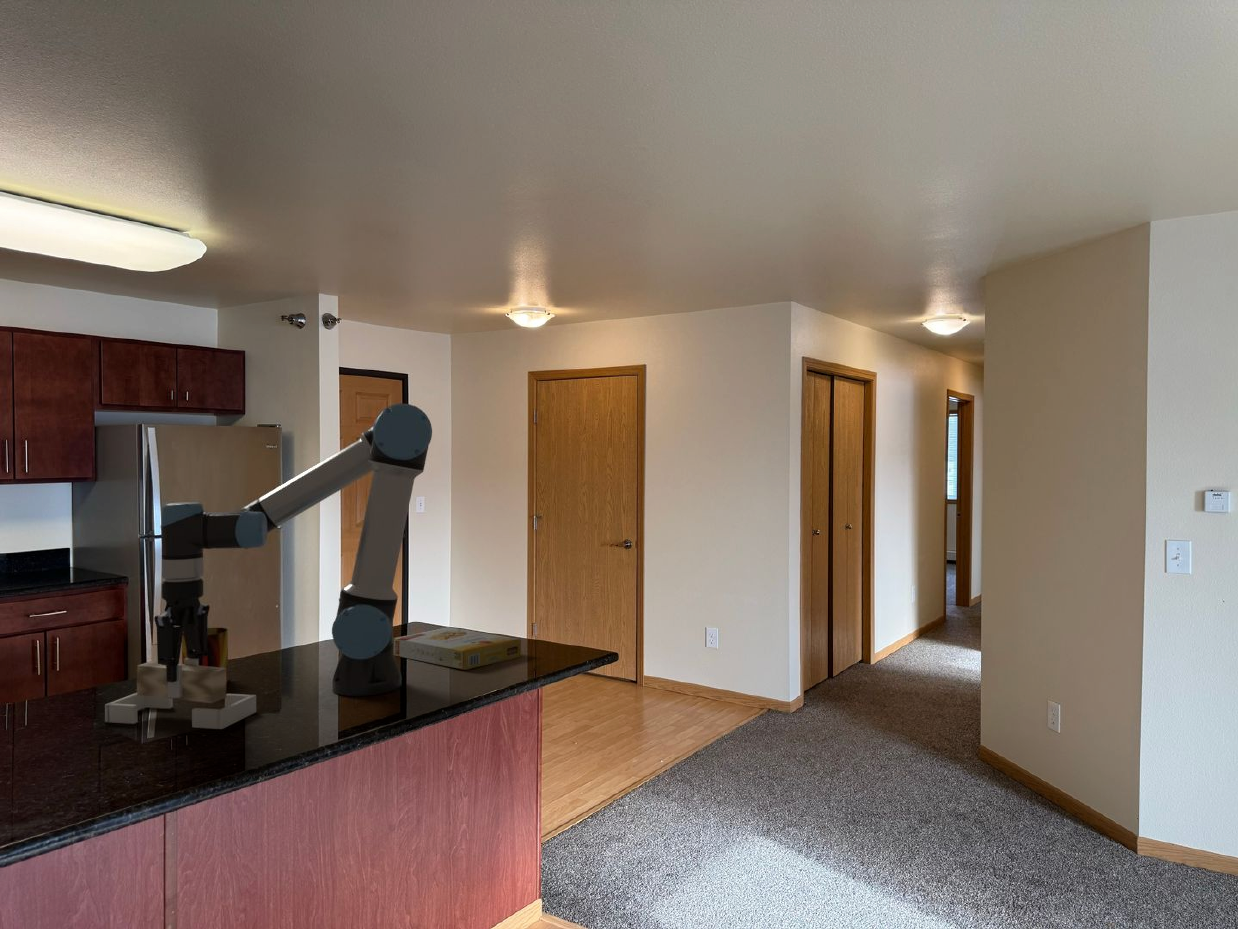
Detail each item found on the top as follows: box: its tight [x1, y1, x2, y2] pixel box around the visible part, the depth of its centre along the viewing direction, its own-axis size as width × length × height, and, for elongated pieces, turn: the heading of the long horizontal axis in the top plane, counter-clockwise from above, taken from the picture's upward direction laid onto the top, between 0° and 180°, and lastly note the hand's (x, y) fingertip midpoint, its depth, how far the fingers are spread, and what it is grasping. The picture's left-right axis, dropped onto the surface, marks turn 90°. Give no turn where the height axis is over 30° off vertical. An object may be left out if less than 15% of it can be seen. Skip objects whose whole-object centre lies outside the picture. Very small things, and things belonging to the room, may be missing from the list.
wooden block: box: [136, 660, 227, 704], centre depth 171 cm, size 18×4×6 cm, turn 76°
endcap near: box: [191, 693, 257, 730], centre depth 169 cm, size 6×11×4 cm, turn 170°
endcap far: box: [104, 692, 174, 725], centre depth 173 cm, size 6×11×4 cm, turn 169°
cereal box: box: [393, 626, 522, 671], centre depth 222 cm, size 20×6×28 cm
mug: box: [181, 626, 229, 683], centre depth 196 cm, size 10×14×12 cm
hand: (183, 693), depth 171 cm, fingers closed on wooden block, 4 cm apart
